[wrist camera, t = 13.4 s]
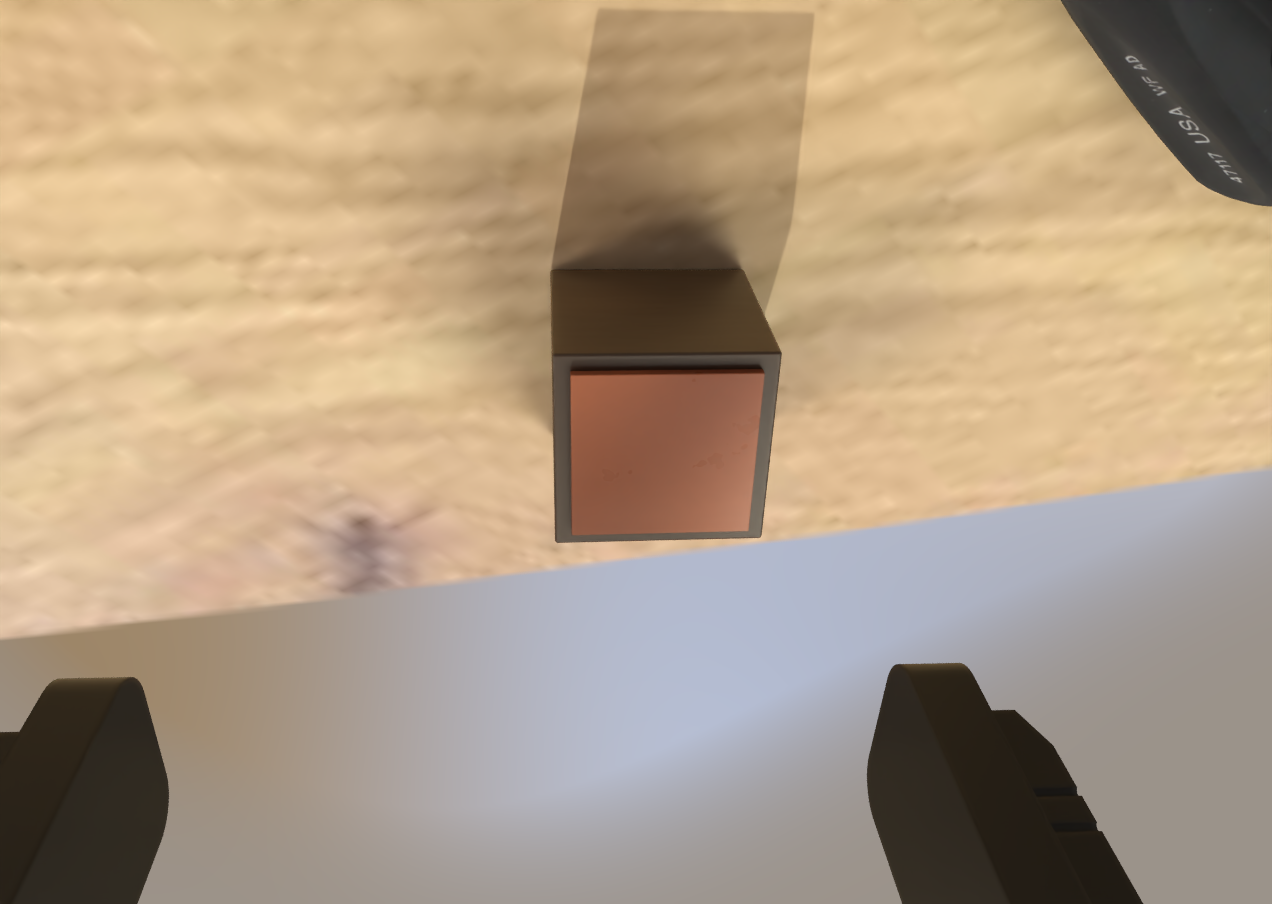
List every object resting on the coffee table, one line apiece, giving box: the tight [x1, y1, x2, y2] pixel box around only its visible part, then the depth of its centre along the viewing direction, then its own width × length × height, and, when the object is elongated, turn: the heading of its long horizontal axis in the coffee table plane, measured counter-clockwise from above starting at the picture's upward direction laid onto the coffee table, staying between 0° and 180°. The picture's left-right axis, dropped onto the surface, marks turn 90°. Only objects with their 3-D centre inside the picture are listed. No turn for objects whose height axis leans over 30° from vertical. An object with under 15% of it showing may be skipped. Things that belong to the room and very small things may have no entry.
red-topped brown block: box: [551, 270, 782, 543], centre depth 23 cm, size 4×4×5 cm
